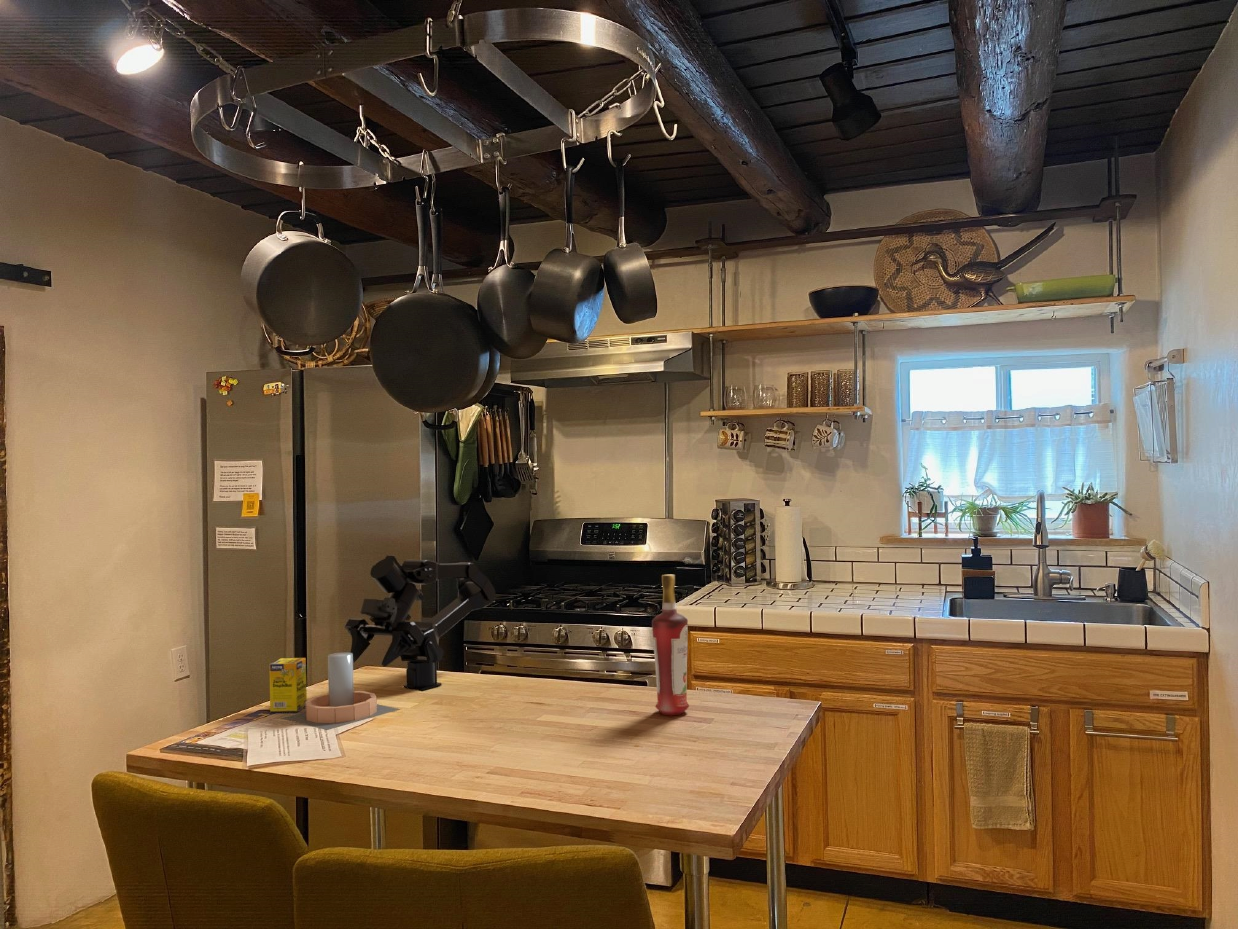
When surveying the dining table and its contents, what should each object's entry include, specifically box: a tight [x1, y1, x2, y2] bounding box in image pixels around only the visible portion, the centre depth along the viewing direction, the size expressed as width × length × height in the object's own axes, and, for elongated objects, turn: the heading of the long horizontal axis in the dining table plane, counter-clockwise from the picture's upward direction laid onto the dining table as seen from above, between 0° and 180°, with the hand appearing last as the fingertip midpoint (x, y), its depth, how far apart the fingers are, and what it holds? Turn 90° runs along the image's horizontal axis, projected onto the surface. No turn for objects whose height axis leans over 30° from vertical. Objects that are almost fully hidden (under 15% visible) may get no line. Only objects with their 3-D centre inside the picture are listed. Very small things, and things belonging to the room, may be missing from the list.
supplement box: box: [268, 657, 308, 715], centre depth 195 cm, size 6×6×11 cm
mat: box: [280, 703, 401, 731], centre depth 190 cm, size 18×16×1 cm
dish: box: [304, 690, 378, 723], centre depth 190 cm, size 14×14×3 cm
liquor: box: [651, 574, 690, 717], centre depth 185 cm, size 7×7×28 cm
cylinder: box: [327, 651, 355, 707], centre depth 191 cm, size 5×5×12 cm
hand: (366, 664), depth 198 cm, fingers open, 9 cm apart
